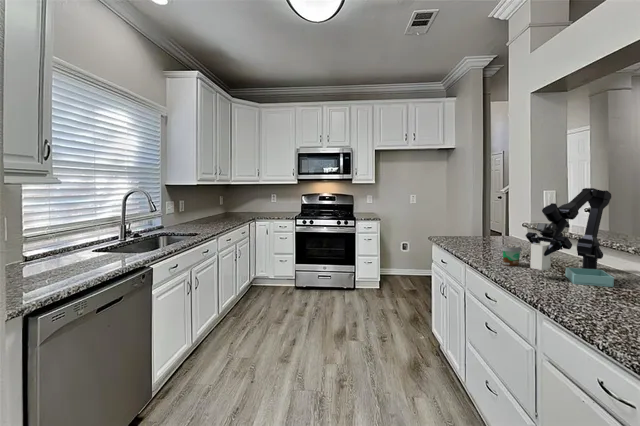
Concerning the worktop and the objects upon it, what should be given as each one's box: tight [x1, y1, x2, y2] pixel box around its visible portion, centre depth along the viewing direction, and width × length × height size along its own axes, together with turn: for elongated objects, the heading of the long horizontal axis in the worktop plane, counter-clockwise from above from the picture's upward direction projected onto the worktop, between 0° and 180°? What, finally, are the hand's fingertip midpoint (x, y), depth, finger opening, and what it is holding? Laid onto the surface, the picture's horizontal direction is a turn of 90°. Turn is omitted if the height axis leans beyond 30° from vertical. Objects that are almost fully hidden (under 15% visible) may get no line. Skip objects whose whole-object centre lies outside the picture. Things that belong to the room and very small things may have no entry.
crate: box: [565, 267, 615, 288], centre depth 152 cm, size 14×14×4 cm
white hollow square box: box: [529, 242, 551, 271], centre depth 158 cm, size 5×5×11 cm
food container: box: [502, 244, 523, 267], centre depth 183 cm, size 12×6×10 cm, turn 123°
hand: (538, 254), depth 158 cm, fingers closed on white hollow square box, 5 cm apart
